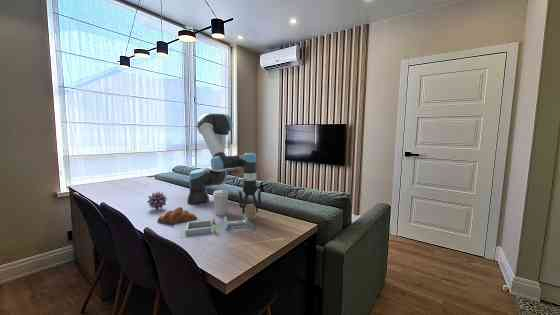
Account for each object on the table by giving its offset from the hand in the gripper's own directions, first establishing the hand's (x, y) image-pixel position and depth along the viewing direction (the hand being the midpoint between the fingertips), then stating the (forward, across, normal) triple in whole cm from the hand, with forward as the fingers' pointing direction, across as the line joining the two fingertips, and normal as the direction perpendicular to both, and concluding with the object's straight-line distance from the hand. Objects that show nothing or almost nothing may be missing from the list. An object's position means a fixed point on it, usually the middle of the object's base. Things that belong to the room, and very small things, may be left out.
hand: (250, 218), depth 142 cm
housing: (0, -19, -11) cm, 22 cm away
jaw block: (0, 0, 0) cm, 0 cm away
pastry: (+1, -40, +8) cm, 41 cm away
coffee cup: (0, -16, +11) cm, 20 cm away
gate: (-1, -10, -11) cm, 15 cm away
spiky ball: (0, -55, +33) cm, 64 cm away
